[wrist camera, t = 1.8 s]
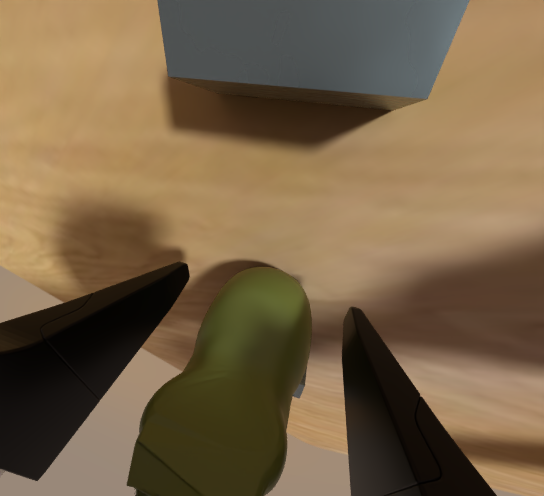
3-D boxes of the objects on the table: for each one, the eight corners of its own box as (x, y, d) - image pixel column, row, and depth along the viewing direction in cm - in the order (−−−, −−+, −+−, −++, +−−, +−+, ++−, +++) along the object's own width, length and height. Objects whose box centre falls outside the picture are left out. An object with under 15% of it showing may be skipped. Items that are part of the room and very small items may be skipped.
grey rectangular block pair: (421, 31, 6) (486, -40, 3) (304, 357, 16) (299, 398, 14) (215, 24, 7) (153, -34, 5) (227, 333, 17) (209, 367, 15)
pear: (235, 301, 15) (115, 517, 7) (234, 242, 12) (17, 490, 4) (308, 320, 14) (274, 602, 6) (324, 261, 11) (307, 654, 3)
